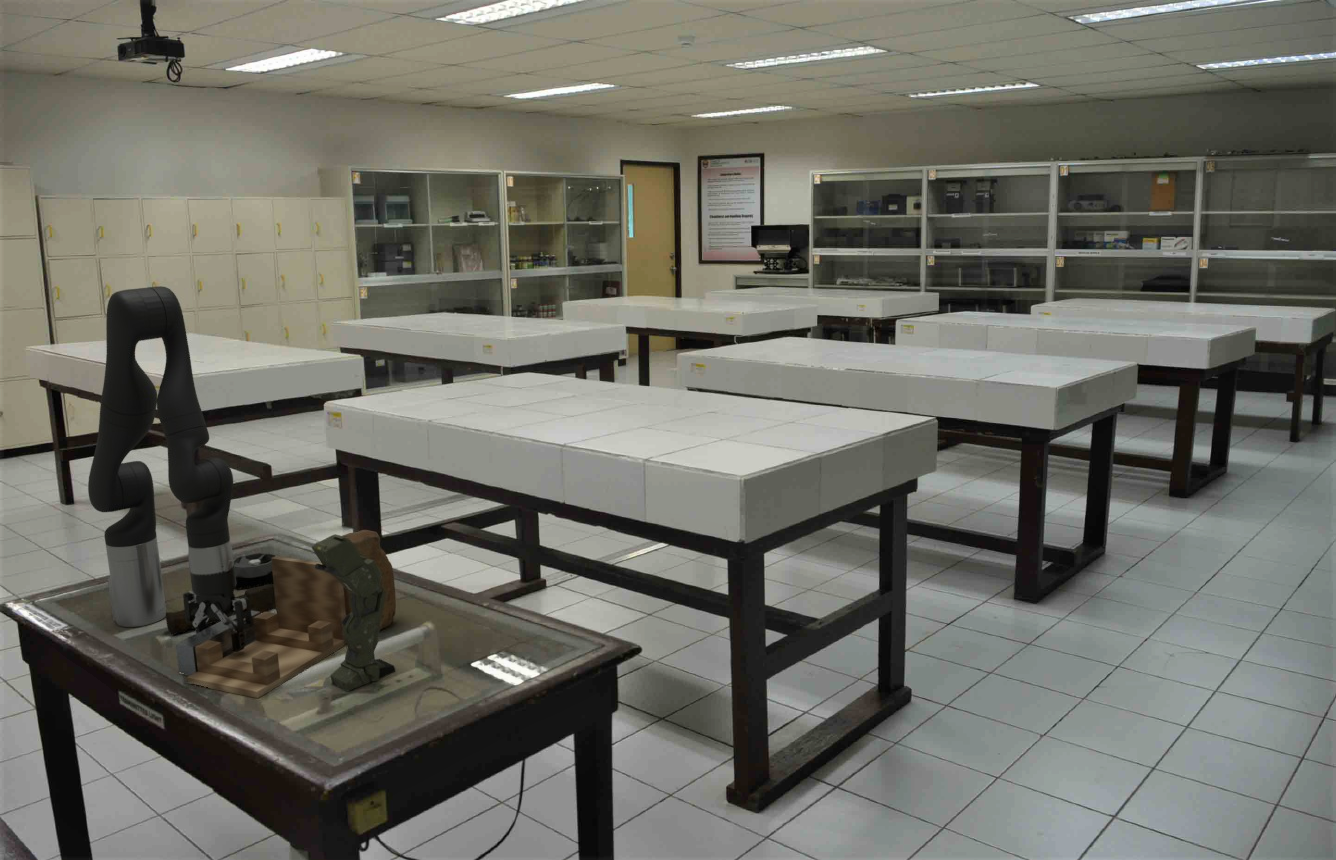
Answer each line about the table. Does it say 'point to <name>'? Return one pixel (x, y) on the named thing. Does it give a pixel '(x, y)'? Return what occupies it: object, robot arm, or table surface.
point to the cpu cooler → (253, 570)
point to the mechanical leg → (356, 610)
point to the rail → (213, 633)
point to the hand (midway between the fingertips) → (221, 647)
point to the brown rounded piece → (371, 549)
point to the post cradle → (280, 633)
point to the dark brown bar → (258, 599)
